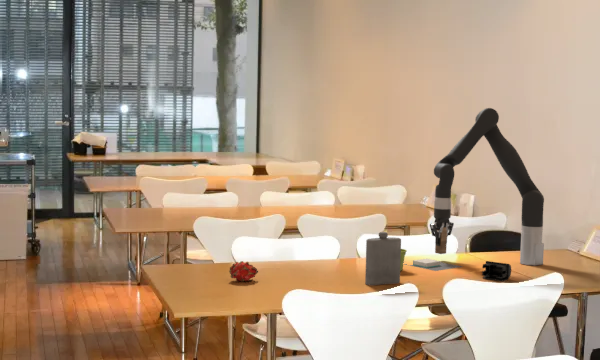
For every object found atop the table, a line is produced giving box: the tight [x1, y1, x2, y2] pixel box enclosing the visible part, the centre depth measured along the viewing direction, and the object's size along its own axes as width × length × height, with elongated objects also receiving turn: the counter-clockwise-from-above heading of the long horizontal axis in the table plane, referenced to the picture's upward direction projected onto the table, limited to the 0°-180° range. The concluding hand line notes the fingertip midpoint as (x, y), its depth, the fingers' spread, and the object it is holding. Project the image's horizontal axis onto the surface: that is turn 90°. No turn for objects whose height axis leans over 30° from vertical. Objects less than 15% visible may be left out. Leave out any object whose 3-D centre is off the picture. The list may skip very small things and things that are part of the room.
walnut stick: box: [434, 227, 448, 255], centre depth 377 cm, size 4×4×12 cm
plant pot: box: [400, 248, 407, 272], centre depth 354 cm, size 9×9×9 cm
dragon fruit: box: [228, 260, 259, 282], centre depth 325 cm, size 8×8×12 cm
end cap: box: [481, 260, 512, 282], centre depth 340 cm, size 10×7×7 cm
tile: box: [412, 258, 442, 268], centre depth 365 cm, size 8×2×9 cm
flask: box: [364, 231, 402, 286], centre depth 325 cm, size 15×6×20 cm, turn 116°
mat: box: [404, 261, 463, 272], centre depth 366 cm, size 22×18×1 cm
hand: (441, 245), depth 377 cm, fingers closed on walnut stick, 3 cm apart
